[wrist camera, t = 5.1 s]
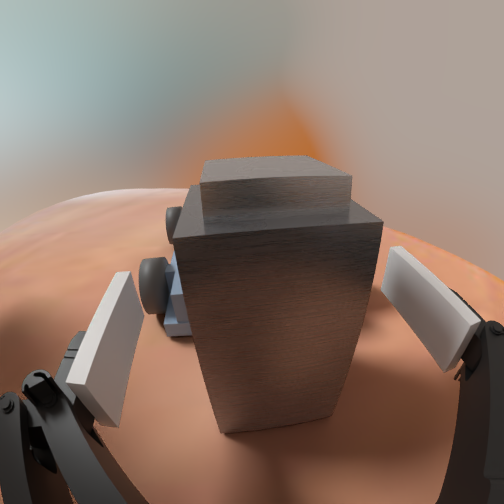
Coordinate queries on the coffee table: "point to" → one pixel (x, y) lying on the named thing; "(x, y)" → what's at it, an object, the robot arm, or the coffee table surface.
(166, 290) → the chassis
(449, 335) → the robot arm
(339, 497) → the coffee table surface
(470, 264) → the coffee table surface
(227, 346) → the block
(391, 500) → the coffee table surface
